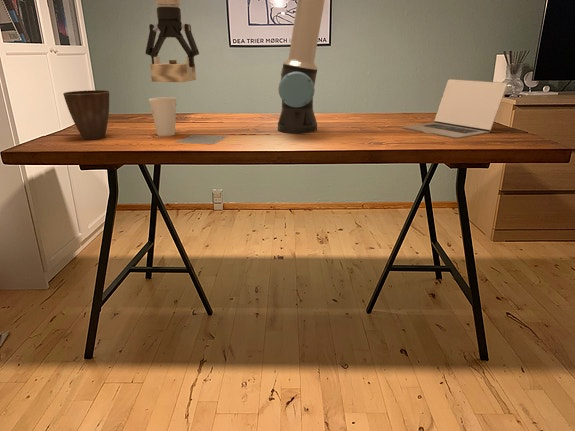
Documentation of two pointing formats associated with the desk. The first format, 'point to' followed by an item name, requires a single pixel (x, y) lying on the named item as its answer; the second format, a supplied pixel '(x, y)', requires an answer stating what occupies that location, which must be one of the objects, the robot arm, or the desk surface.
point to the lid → (171, 72)
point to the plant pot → (89, 112)
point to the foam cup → (164, 115)
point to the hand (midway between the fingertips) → (174, 77)
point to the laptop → (465, 109)
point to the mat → (202, 139)
